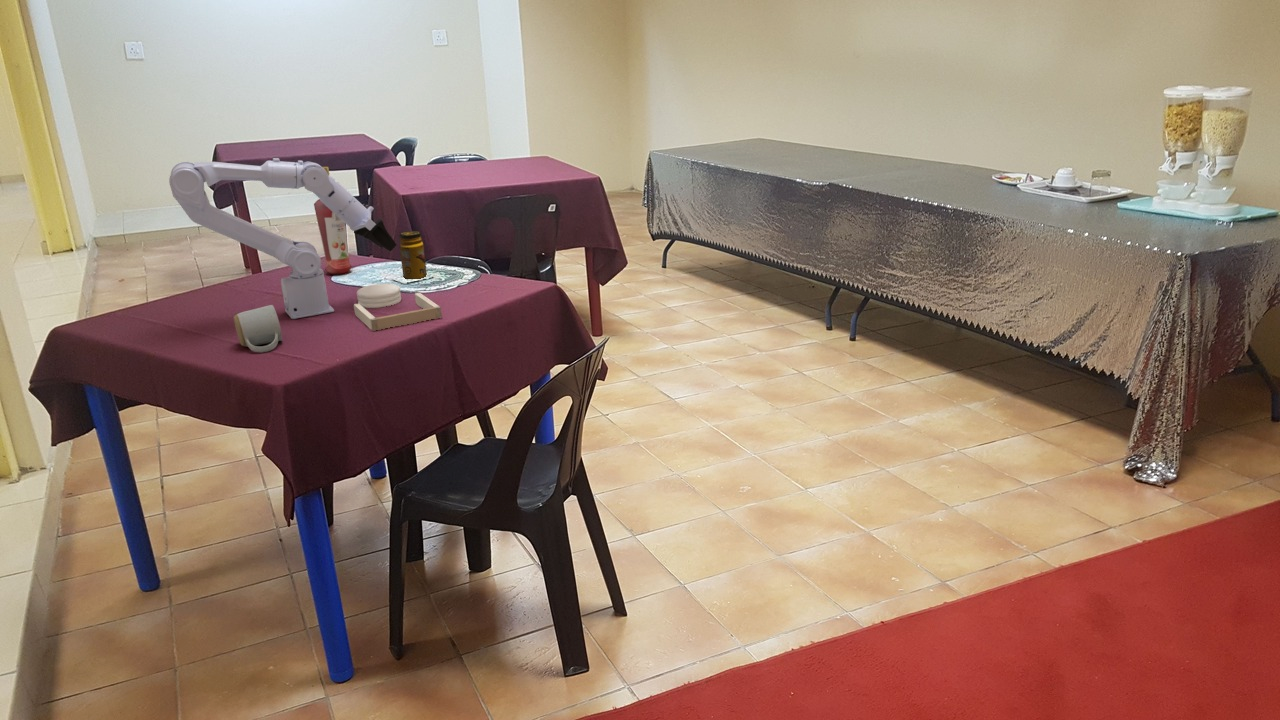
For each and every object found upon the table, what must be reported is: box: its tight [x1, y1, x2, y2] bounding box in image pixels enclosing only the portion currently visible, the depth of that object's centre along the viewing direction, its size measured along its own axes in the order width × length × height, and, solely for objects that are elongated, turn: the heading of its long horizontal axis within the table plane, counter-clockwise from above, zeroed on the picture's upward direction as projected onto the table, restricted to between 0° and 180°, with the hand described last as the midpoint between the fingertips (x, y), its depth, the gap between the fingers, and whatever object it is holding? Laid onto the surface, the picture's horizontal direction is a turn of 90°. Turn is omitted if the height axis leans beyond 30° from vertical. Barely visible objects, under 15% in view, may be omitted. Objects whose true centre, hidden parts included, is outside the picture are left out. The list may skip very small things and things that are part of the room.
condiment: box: [399, 230, 428, 279], centre depth 230 cm, size 7×8×12 cm
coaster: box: [356, 283, 402, 309], centre depth 213 cm, size 10×10×4 cm
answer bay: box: [353, 292, 443, 332], centre depth 201 cm, size 15×15×2 cm
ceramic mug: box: [233, 304, 283, 354], centre depth 185 cm, size 11×8×8 cm
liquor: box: [313, 166, 353, 276], centre depth 236 cm, size 7×7×28 cm
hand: (389, 246), depth 211 cm, fingers open, 7 cm apart
